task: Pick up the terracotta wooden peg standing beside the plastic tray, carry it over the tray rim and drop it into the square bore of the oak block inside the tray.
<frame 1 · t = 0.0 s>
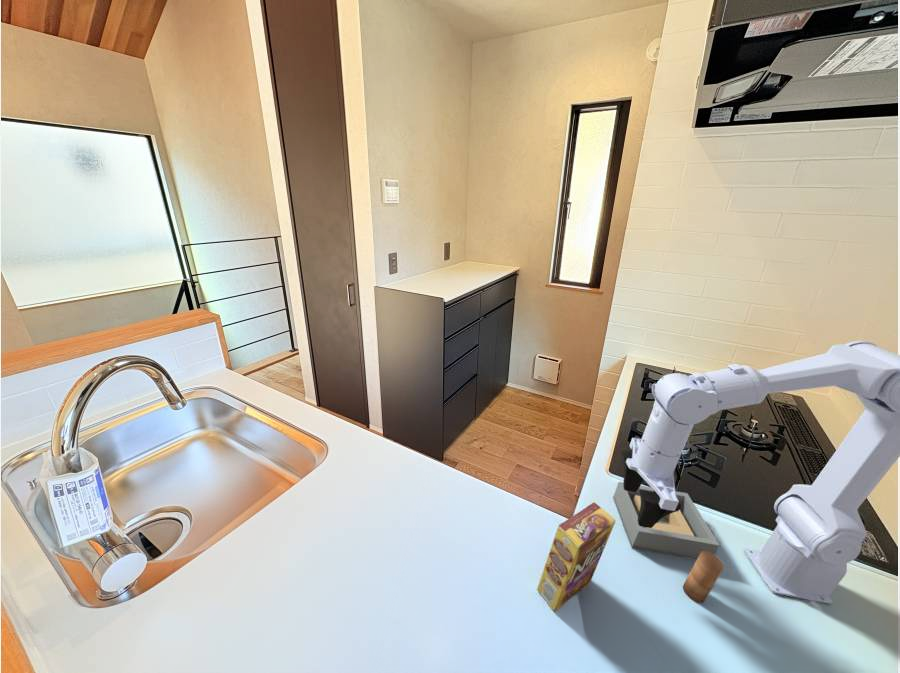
hand: (636, 506, 62), 10 cm above the worktop, tool pointing down, fingers open, 7 cm apart
tray: (657, 527, 71), on the worktop
candy box: (564, 588, 58), on the worktop
peg: (693, 592, 59), on the worktop
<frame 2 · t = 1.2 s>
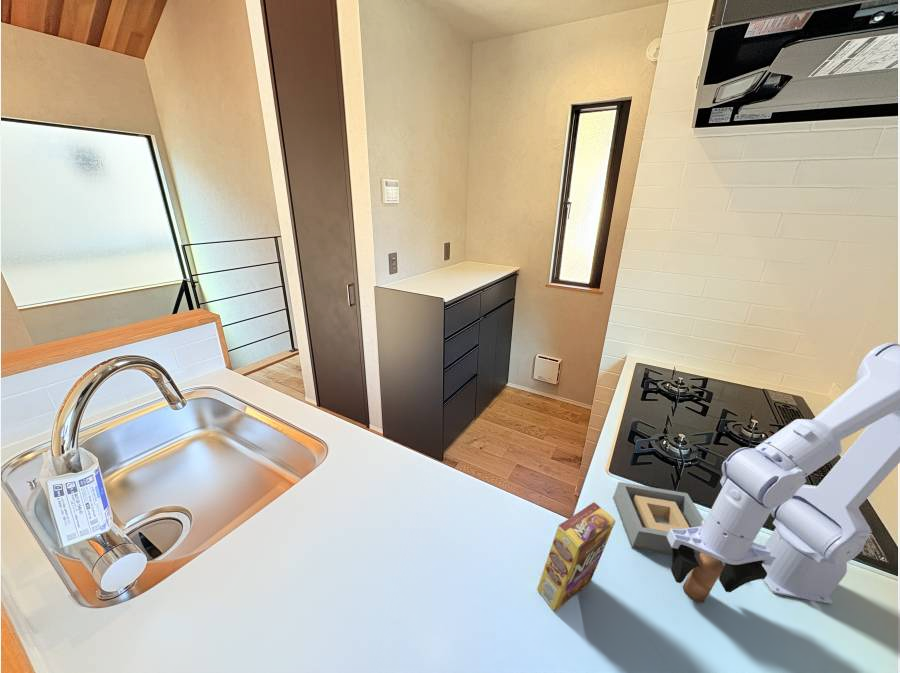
hand: (699, 581, 58), 3 cm above the worktop, tool pointing down, fingers open, 7 cm apart
nothing on the worktop moved.
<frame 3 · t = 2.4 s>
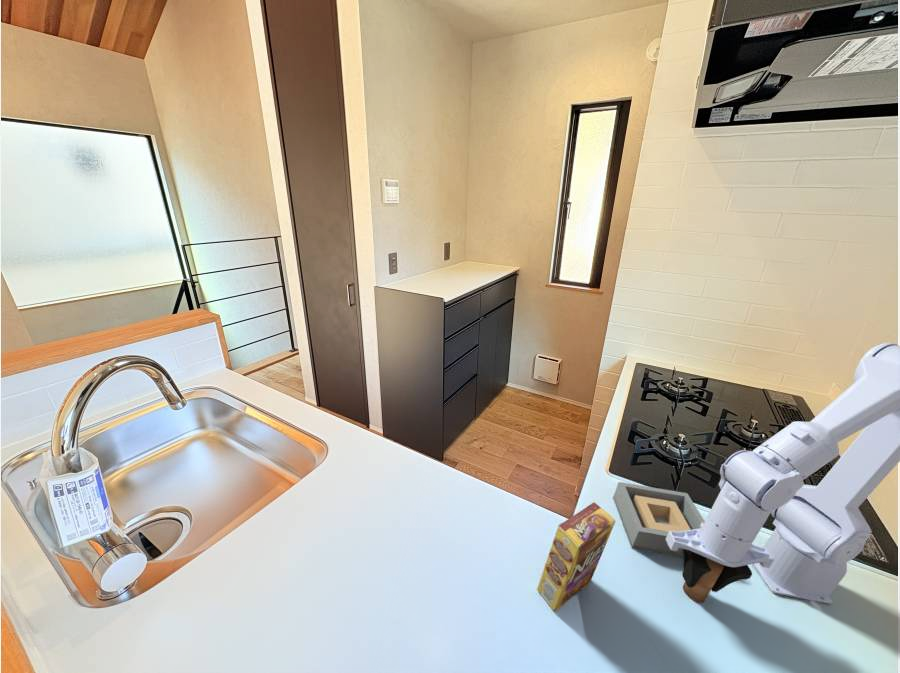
hand: (699, 583, 58), 2 cm above the worktop, tool pointing down, fingers closed on peg, 3 cm apart
peg: (693, 592, 59), on the worktop, touching gripper
everything else where it was.
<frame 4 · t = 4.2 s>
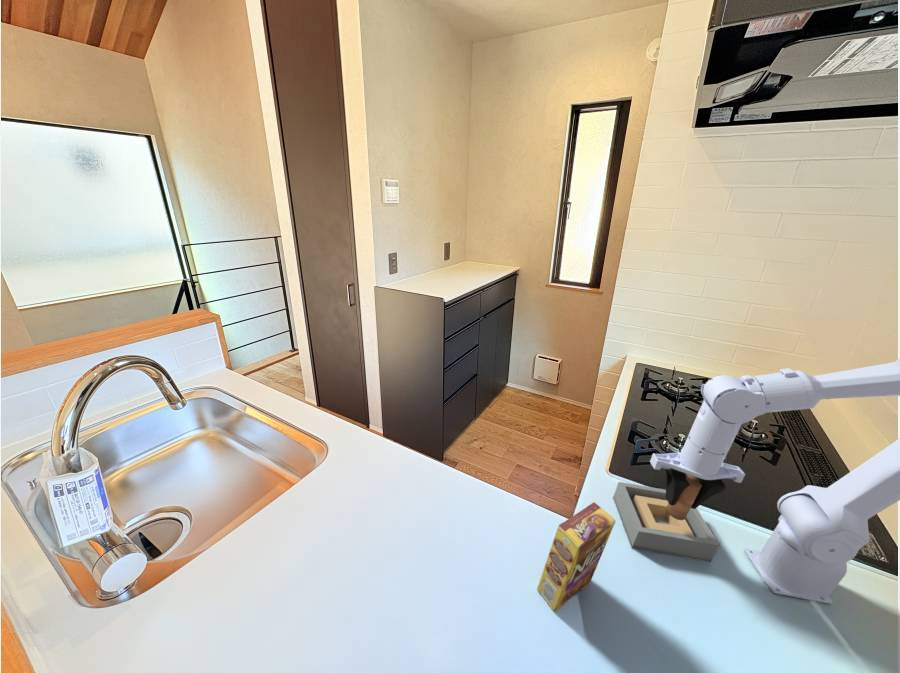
hand: (680, 502, 65), 9 cm above the worktop, tool pointing down, fingers closed on peg, 3 cm apart
peg: (675, 512, 66), point 7 cm above the worktop, touching gripper
everything else where it was.
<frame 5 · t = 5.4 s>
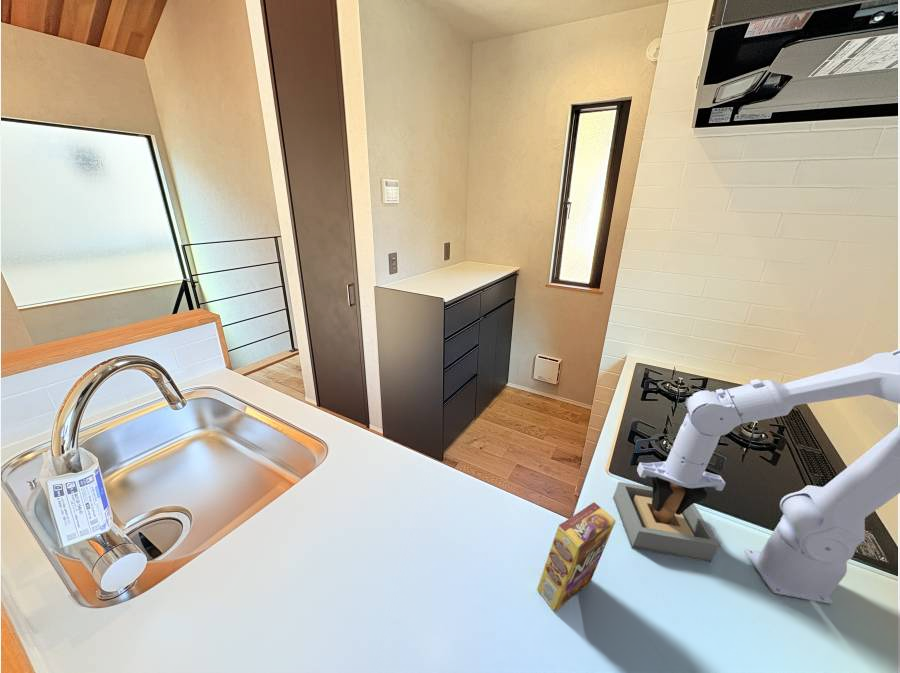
hand: (665, 508, 69), 5 cm above the worktop, tool pointing down, fingers closed on peg, 3 cm apart
peg: (661, 518, 70), point 3 cm above the worktop, touching gripper
everything else where it was.
when the fingers open (4 cm above the worktop, at t = 6.3 s): peg drops 1 cm, resting on tray.
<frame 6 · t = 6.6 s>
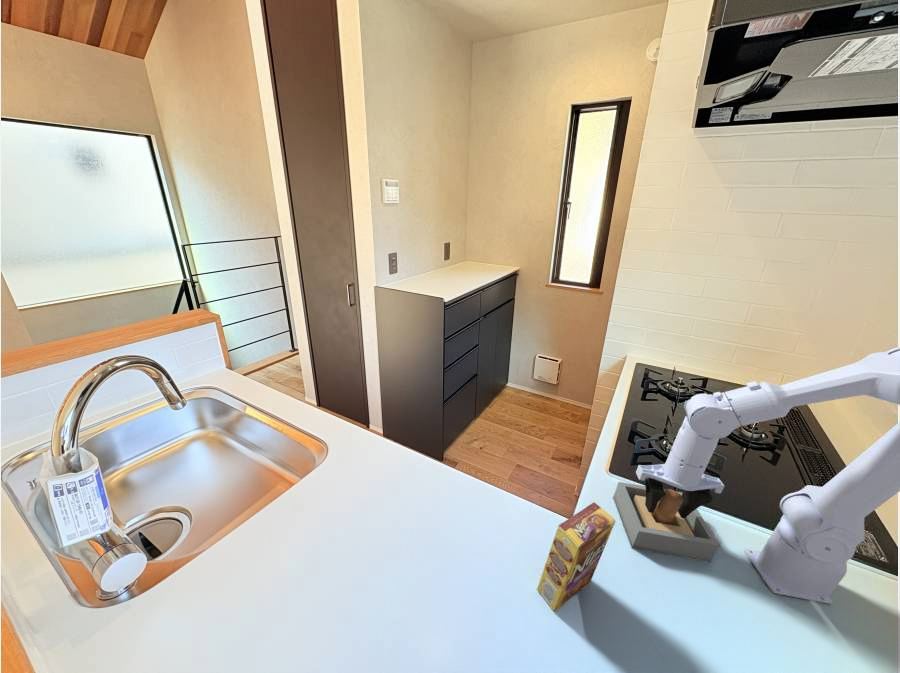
hand: (664, 511, 69), 4 cm above the worktop, tool pointing down, fingers open, 5 cm apart
peg: (659, 524, 71), point 1 cm above the worktop, touching tray
everything else where it was.
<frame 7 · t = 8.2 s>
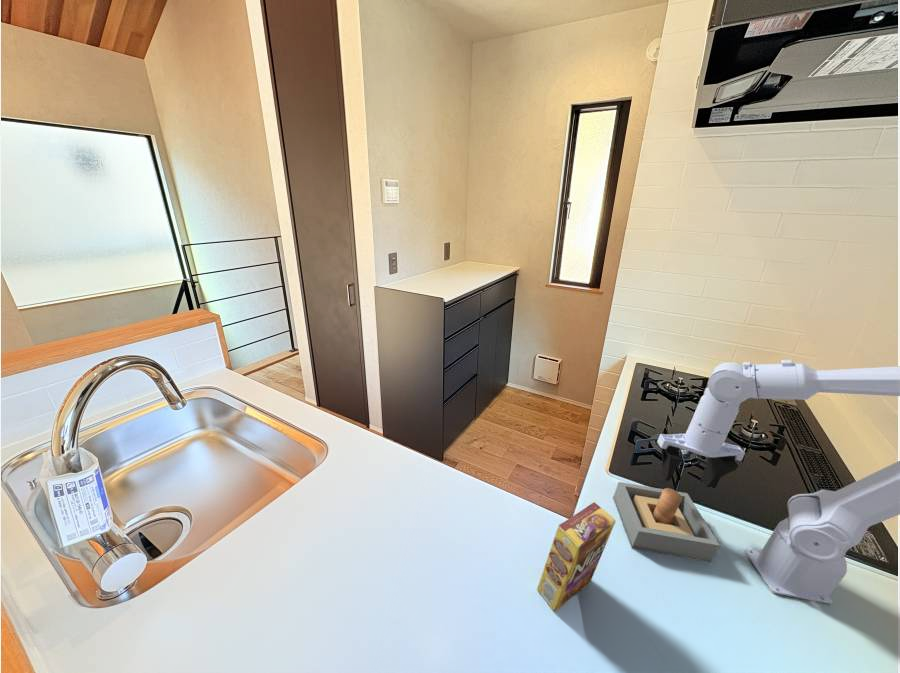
hand: (685, 480, 71), 9 cm above the worktop, tool pointing down, fingers open, 7 cm apart
nothing on the worktop moved.
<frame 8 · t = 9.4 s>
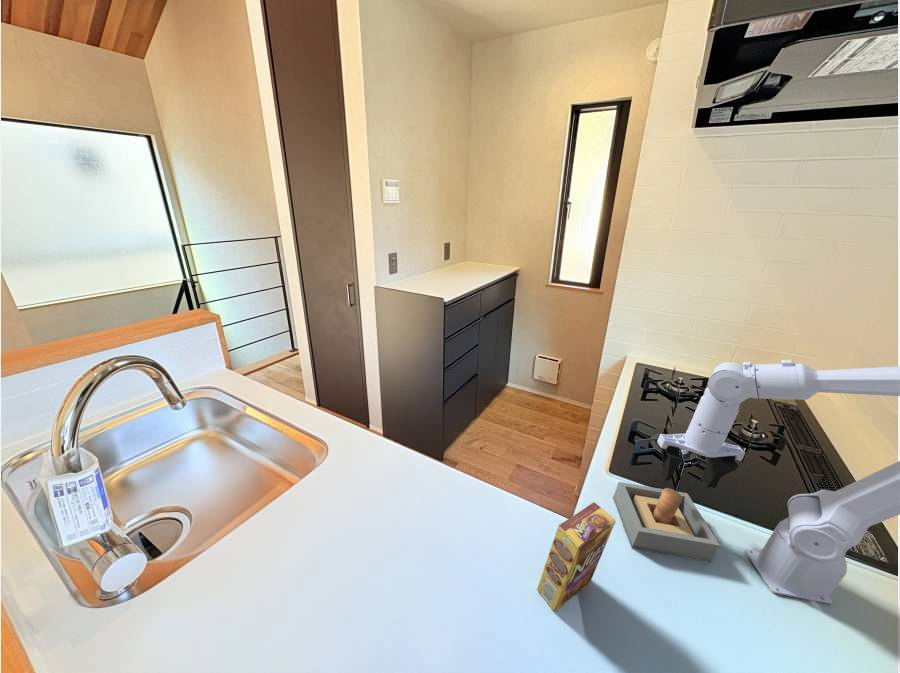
hand: (685, 480, 71), 9 cm above the worktop, tool pointing down, fingers open, 7 cm apart
nothing on the worktop moved.
at the end: peg 0.1 cm off-centre on the tray, point 0.8 cm above the tray's base; peg tilted 0°; the gripper is holding nothing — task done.
